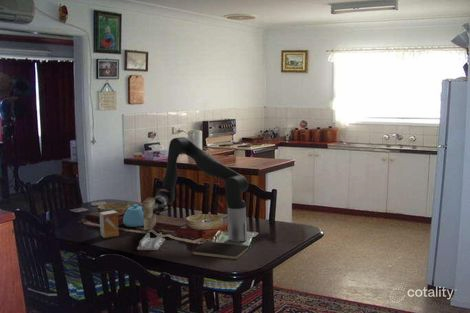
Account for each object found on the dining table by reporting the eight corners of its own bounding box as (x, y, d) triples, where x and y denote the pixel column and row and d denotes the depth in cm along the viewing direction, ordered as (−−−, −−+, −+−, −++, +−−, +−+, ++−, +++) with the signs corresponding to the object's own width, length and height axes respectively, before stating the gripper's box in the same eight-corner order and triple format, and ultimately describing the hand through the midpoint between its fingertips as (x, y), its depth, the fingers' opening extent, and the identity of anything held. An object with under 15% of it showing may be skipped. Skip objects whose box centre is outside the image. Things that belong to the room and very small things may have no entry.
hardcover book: (236, 260, 244) (236, 255, 244) (192, 255, 253) (192, 250, 253) (249, 249, 259) (249, 245, 258) (206, 245, 268) (206, 240, 267)
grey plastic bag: (164, 240, 276) (164, 232, 276) (157, 250, 261) (156, 242, 260) (145, 239, 277) (145, 232, 277) (137, 249, 262) (136, 242, 261)
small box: (104, 238, 282) (103, 214, 280) (100, 235, 287) (99, 212, 285) (119, 235, 286) (117, 212, 284) (114, 233, 291) (113, 209, 289)
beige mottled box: (156, 223, 272) (154, 197, 270) (151, 229, 263) (149, 202, 260) (149, 223, 273) (148, 197, 271) (144, 229, 263) (142, 202, 261)
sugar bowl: (154, 222, 311) (153, 203, 309) (137, 229, 298) (136, 209, 296) (135, 219, 319) (134, 200, 317) (117, 225, 306) (116, 206, 304)
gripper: (144, 196, 284) (135, 204, 267) (170, 196, 282) (162, 204, 265) (145, 210, 285) (136, 219, 268) (171, 210, 283) (163, 219, 266)
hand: (149, 212), depth 267 cm, fingers closed on beige mottled box, 3 cm apart
